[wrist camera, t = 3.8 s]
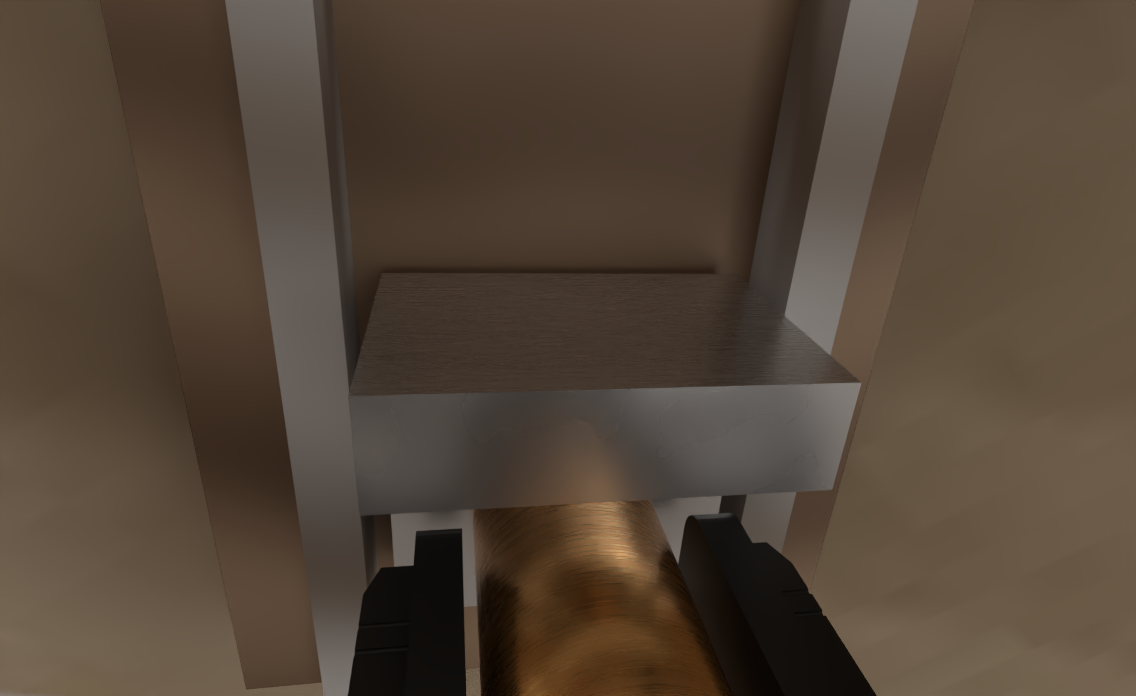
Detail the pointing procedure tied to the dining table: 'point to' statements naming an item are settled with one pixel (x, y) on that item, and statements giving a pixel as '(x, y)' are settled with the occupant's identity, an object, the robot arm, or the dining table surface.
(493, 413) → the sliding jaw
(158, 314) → the dining table surface
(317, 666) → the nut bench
